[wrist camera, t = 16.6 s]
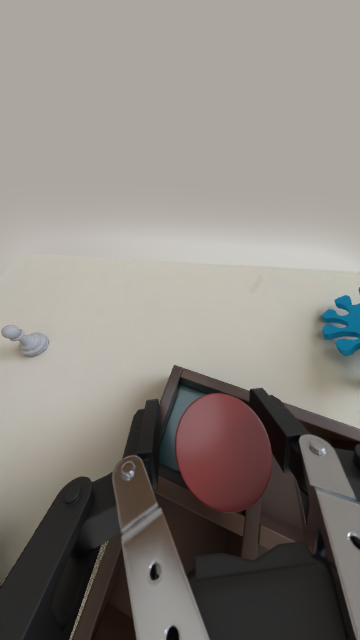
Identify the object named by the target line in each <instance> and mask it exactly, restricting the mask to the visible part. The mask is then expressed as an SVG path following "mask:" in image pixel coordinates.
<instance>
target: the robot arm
mask: <svg viewBox="0 0 360 640" xmlns="http://www.w3.org/2000/svg"><path fill="white" fill-rule="evenodd" d="M249 407H250V408H251V409H252V410H253V411H254V412H255V413H256V415H257V416H258V417H259V419H260V420H261V422H262V424H263V426H264V427H265V430H266V432H267V435H268V438H269V441H270V445H271V451H272V454H273V456H274V457H275V459H276V461H277V463H278V464H279V466H280V468H281V469H282V471H283V473H290V472H292V474H293V475H294V477H295V488H296V494H297V499H298V505H299V510H300V516H301V521H302V527H303V534H304V541H298V542H291V543H284V544H278V545H276V546H275V547H273V548H272V549H270V550H269V551H267V552H266V553H264V554H263V555H261V556H260V557H258V558H257V559H255V560H249V559H245V558H241V557H238V556H234V555H230V554H226V553H222V552H221V553H214V554H206V555H199V556H194V564H195V568H194V569H193V570H191V571H190V572H188V573H187V574H186V573H185V570H184V567H183V565H182V562H181V559H180V556H179V554H178V551H177V548H176V545H175V543H174V540H173V537H172V535H171V532H170V529H169V526H168V524H167V521H166V518H165V515H164V513H163V510H162V508H161V506H159V505H158V502H157V500H156V497H155V494H154V491H153V489H158V473H159V456H160V440H161V416H160V409H159V401H158V399H152V400H147V401H146V405H145V409H140V410H138V411H137V413H136V414H135V415H134V417H133V421H132V425H131V428H130V432H129V436H128V440H127V444H126V447H125V451H124V455H123V458H122V460H121V461H120V462H119V463H118V464H117V465H116V467H115V468H114V471H113V472H111V473H110V474H109V475H107V476H105V477H103V478H100V479H98V480H96V481H94V482H91V480H90V479H89V478H87V477H78V478H76V479H74V480H72V481H71V482H69V483H68V484H67V485H66V486H65V487H64V488H63V489H62V490H61V491H60V492H59V494H58V495H57V497H56V499H55V500H54V502H53V503H52V505H51V507H50V508H49V510H48V511H47V513H46V515H45V516H44V518H43V520H42V521H41V523H40V524H39V526H38V528H37V529H36V531H35V533H34V534H33V536H32V537H31V539H30V541H29V542H28V544H27V546H26V547H25V549H24V550H23V552H22V554H21V555H20V557H19V559H18V560H17V562H16V563H15V565H14V567H13V568H12V570H11V572H10V573H9V575H8V576H7V578H6V580H5V581H4V583H3V584H2V586H1V588H0V640H69V638H70V635H71V633H72V630H73V627H74V624H75V621H76V618H77V615H78V612H79V609H80V606H81V603H82V600H83V597H84V594H85V591H86V588H87V585H88V582H89V580H90V577H91V574H92V571H93V568H94V565H95V562H96V559H97V556H98V553H99V550H100V547H101V544H103V543H104V542H106V541H108V540H109V539H111V538H113V537H115V536H116V535H118V534H120V533H121V543H122V550H123V556H124V563H125V569H126V575H127V582H128V588H129V594H130V601H131V607H132V613H133V619H134V626H135V632H136V638H137V640H360V444H357V445H356V447H355V451H349V450H343V449H337V448H333V447H332V446H331V445H330V444H329V443H328V442H326V441H325V440H323V439H322V438H320V437H317V436H315V435H311V434H310V433H309V432H308V431H307V429H306V428H305V427H304V426H303V425H302V424H301V423H300V422H299V421H298V419H297V418H296V417H295V416H294V415H293V414H291V412H290V411H289V409H288V408H286V406H285V405H284V404H283V403H282V402H281V401H280V400H279V399H277V398H276V397H274V396H273V395H268V394H267V393H266V392H265V390H264V389H263V388H256V389H250V393H249Z"/></svg>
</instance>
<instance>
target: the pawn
mask: <svg viewBox="0 0 360 640" xmlns="http://www.w3.org/2000/svg"><path fill="white" fill-rule="evenodd" d="M1 333H2V335H3V336H4V337H6V338H9V339H10V340H11V341H18V340H19V341H20V346H19V350H20V352H21V353H22V354H24V355H27V356H36V355H38V354H40V353H42V352H43V351H44V350H45V349H46V347H47V345H48V338H47V337H46V336H45V335H44V334H42V333H32V334H30V335H24V331H23V330H22V329H19V328H18V327H16V326H14V325H9V326H6V327H4V328H3V329H2V331H1Z"/></svg>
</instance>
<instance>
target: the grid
mask: <svg viewBox="0 0 360 640" xmlns="http://www.w3.org/2000/svg"><path fill="white" fill-rule="evenodd" d="M214 393H221V394H227V395H230V396H233V397H235V398H238V399H239V400H241V401H243V402H244V403H245V404H247V405H248V406H249V393H250V391H248V390H246V389H243V388H240V387H237V386H234V385H231V384H228V383H225V382H222V381H219V380H217V379H214V378H211V377H208V376H205V375H202V374H199V373H196V372H193V371H191V370H188V369H185V368H182V367H179V366H176V365H174V366H173V369H172V372H171V375H170V377H169V380H168V383H167V385H166V388H165V391H164V393H163V396H162V399H161V401H160V404H159V409H160V416H161V440H160V456H159V473H158V489H153V491H154V494H155V497H156V500H157V502H158V505H159V506H161V508H162V510H163V513H164V515H165V518H166V521H167V524H168V526H169V529H170V532H171V535H172V537H173V540H174V543H175V545H176V548H177V551H178V554H179V556H180V559H181V562H182V565H183V567H184V570H185V573H186V574H187V573H188V572H190V571H191V570H193V569H194V568H195V564H194V556H199V555H206V554H214V553H221V552H222V553H226V554H230V555H234V556H238V557H241V558H245V559H249V560H255V559H257V558H258V557H260V556H261V555H263V554H264V553H266V552H267V551H269V550H270V549H272V548H273V547H275V546H276V545H278V544H284V543H291V542H298V541H304V534H303V527H302V521H301V516H300V510H299V505H298V499H297V494H296V488H295V477H294V475H293V474H292V472H290V473H283V471H282V469H281V468H280V466H279V464H278V463H277V461H276V459H275V457H274V456H273V454H272V471H271V476H270V480H269V483H268V486H267V488H266V490H265V492H264V493H263V495H262V496H261V497H260V499H259V500H258V501H257V502H256V503H255V504H254V505H253V506H251V507H249V508H248V509H246V510H243V511H240V512H235V513H224V512H219V511H216V510H214V509H211V508H209V507H208V506H206V505H204V504H203V503H202V502H200V501H199V500H198V499H197V498H196V497H195V496H194V495H193V494H192V493H191V491H190V490H189V489H188V487H187V486H186V484H185V482H184V480H183V478H182V476H181V474H180V471H179V468H178V465H177V460H176V455H175V437H176V431H177V427H178V424H179V421H180V419H181V417H182V415H183V413H184V412H185V410H186V409H187V408H188V406H189V405H190V404H191V403H193V402H194V401H195V400H197V399H198V398H200V397H202V396H204V395H208V394H214ZM282 403H283V402H282ZM283 404H284V405H285V406H286V408H288V409H289V411H290V412H291V414H293V415H294V416H295V417H296V418H297V419H298V421H299V422H300V423H301V424H302V425H303V426H304V427H305V428H306V429H307V431H308V432H309V433H310V434H311V435H315V436H317V437H320V438H322V439H323V440H325V441H326V442H328V443H329V444H330V445H331V446H332V447H333V448H337V449H343V450H349V451H355V447H356V445H357V444H360V429H358V428H355V427H353V426H350V425H347V424H344V423H341V422H338V421H335V420H332V419H329V418H327V417H324V416H321V415H318V414H315V413H312V412H309V411H306V410H303V409H301V408H298V407H295V406H292V405H289V404H286V403H283ZM72 640H137V638H136V632H135V626H134V619H133V613H132V607H131V601H130V594H129V588H128V582H127V575H126V569H125V563H124V556H123V550H122V543H121V533H120V534H118V535H116V536H115V537H113V538H111V539H109V541H108V544H107V546H106V549H105V552H104V555H103V557H102V560H101V563H100V565H99V568H98V571H97V573H96V576H95V579H94V581H93V584H92V587H91V589H90V592H89V595H88V597H87V600H86V603H85V606H84V608H83V611H82V614H81V616H80V619H79V622H78V624H77V627H76V630H75V632H74V635H73V638H72Z"/></svg>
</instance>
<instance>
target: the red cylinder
mask: <svg viewBox="0 0 360 640" xmlns="http://www.w3.org/2000/svg"><path fill="white" fill-rule="evenodd" d="M175 455H176V460H177V465H178V468H179V471H180V474H181V476H182V478H183V480H184V482H185V484H186V486H187V487H188V489H189V490H190V491H191V493H192V494H193V495H194V496H195V497H196V498H197V499H198V500H199V501H200V502H202V503H203V504H204V505H206V506H208V507H209V508H211V509H214V510H216V511H219V512H224V513H235V512H240V511H243V510H246V509H248V508H249V507H251V506H253V505H254V504H255V503H256V502H257V501H258V500H259V499H260V497H261V496H262V495H263V493H264V492H265V490H266V488H267V486H268V483H269V480H270V476H271V471H272V451H271V445H270V441H269V438H268V435H267V432H266V430H265V427H264V426H263V424H262V422H261V420H260V419H259V417H258V416H257V415H256V413H255V412H254V411H253V410H252V409H251V408H250V407H249V406H248V405H247V404H245V403H244V402H243V401H241V400H239V399H238V398H235V397H233V396H230V395H227V394H221V393H214V394H208V395H204V396H202V397H200V398H198V399H197V400H195V401H194V402H193V403H191V404H190V405H189V406H188V408H187V409H186V410H185V412H184V413H183V415H182V417H181V419H180V421H179V424H178V427H177V431H176V437H175Z"/></svg>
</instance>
